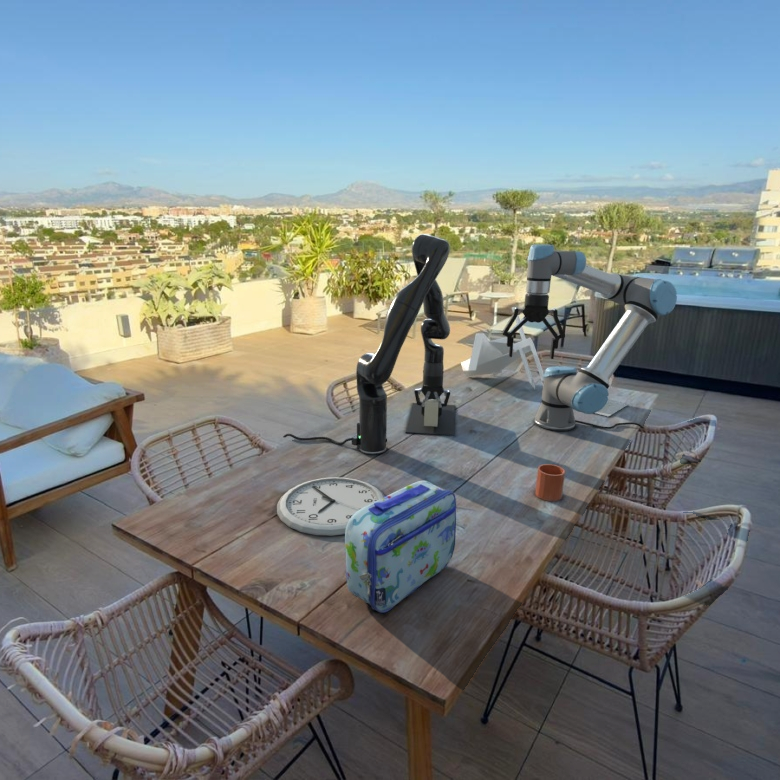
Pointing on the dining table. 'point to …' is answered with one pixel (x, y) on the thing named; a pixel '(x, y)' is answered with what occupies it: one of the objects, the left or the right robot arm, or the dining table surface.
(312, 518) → the wall clock
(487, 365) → the white plastic object
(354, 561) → the lunch box
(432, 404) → the cream beam
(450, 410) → the dark rubber mat
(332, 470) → the dining table surface
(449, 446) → the dining table surface
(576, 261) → the right robot arm
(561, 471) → the terracotta pot
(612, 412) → the invitation card
